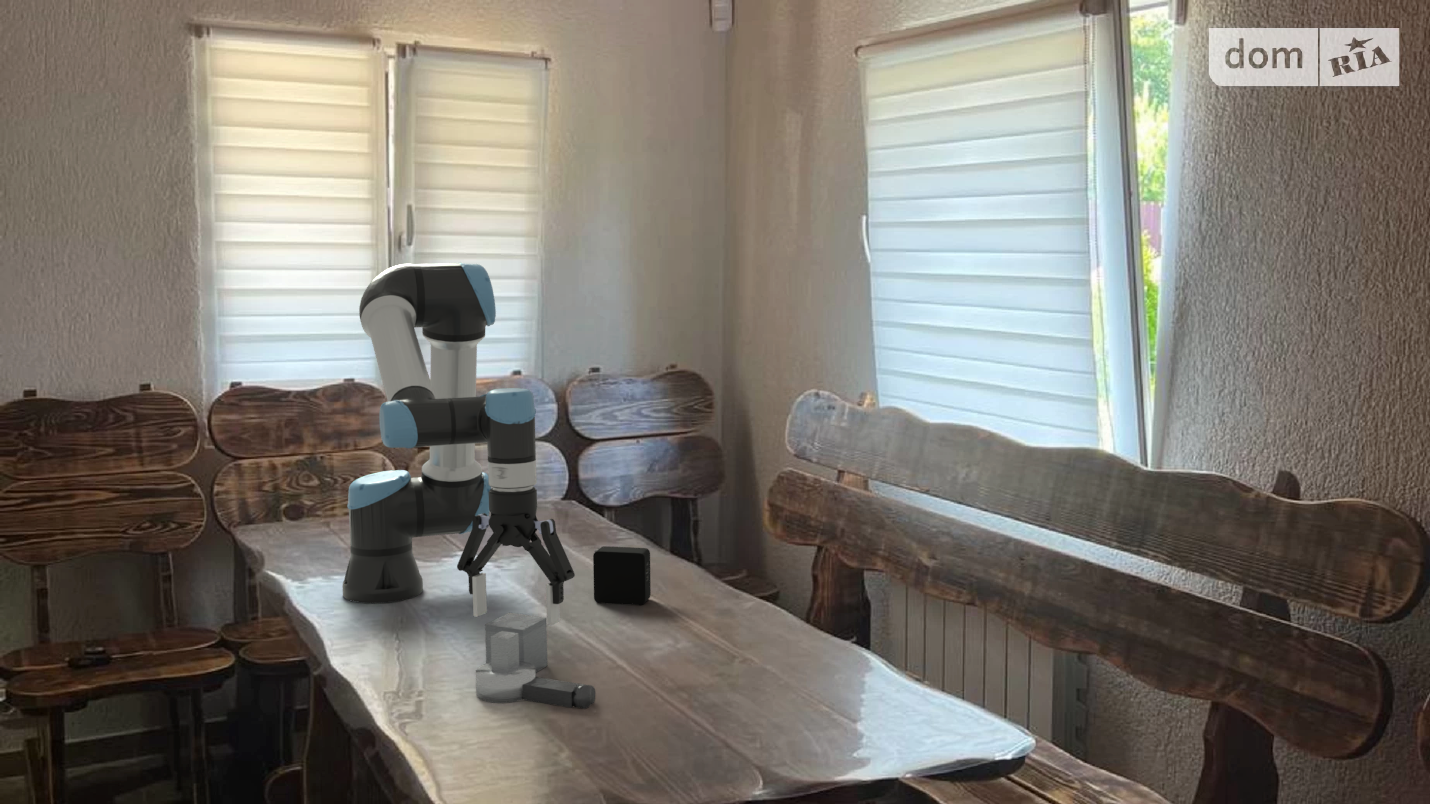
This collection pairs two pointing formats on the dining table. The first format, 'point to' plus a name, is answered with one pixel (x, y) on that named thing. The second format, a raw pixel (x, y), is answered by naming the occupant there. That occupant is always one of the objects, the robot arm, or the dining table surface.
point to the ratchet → (524, 679)
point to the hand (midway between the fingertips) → (516, 619)
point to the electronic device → (621, 575)
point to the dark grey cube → (522, 637)
